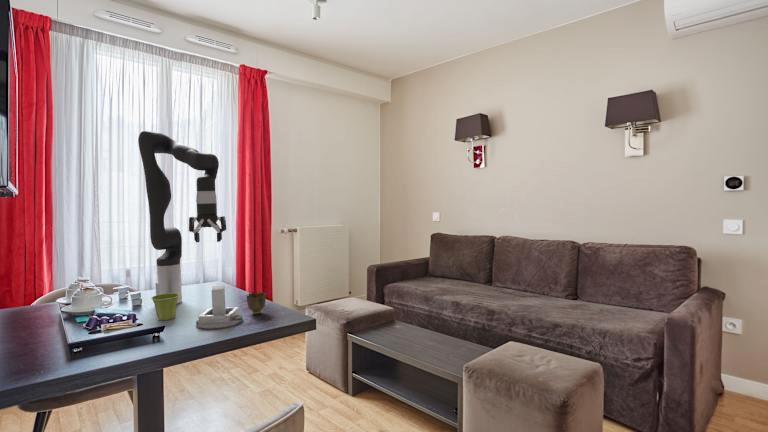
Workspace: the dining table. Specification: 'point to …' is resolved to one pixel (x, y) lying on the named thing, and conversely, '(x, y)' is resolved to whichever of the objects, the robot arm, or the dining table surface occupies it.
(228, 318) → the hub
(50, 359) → the dining table surface
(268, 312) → the dining table surface
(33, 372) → the dining table surface
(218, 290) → the skincare box
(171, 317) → the plant pot
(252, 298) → the cup
